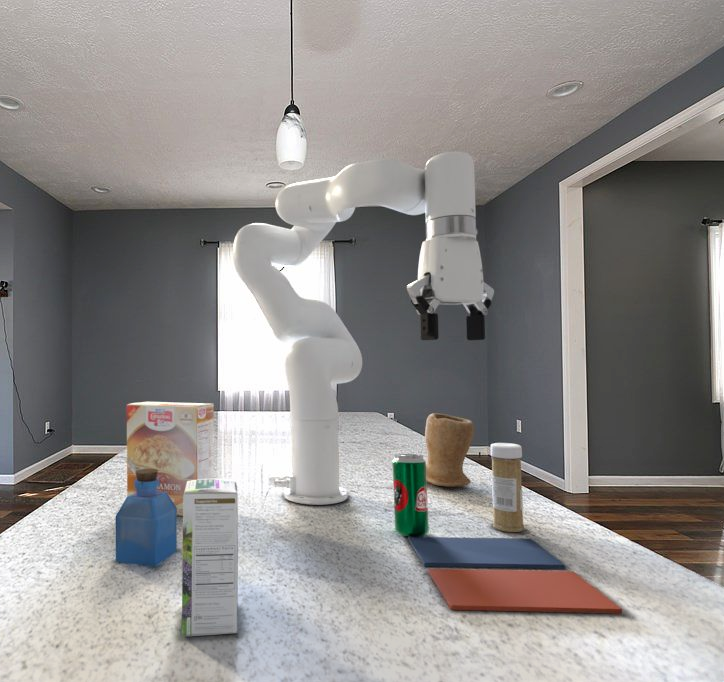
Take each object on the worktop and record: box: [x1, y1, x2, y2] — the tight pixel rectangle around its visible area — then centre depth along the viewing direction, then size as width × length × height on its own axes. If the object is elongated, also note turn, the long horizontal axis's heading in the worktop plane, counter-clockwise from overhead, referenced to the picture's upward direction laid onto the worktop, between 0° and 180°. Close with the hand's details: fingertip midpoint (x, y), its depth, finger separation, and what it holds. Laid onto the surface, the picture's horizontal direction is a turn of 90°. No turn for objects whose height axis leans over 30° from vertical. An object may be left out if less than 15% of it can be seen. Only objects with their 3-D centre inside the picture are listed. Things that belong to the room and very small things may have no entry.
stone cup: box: [424, 412, 475, 487], centre depth 116 cm, size 15×12×15 cm
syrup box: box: [181, 478, 239, 637], centre depth 56 cm, size 6×6×14 cm
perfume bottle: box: [115, 468, 178, 568], centre depth 75 cm, size 6×6×12 cm
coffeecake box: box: [126, 401, 215, 517], centre depth 98 cm, size 15×7×20 cm, turn 68°
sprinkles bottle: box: [490, 442, 525, 533], centre depth 85 cm, size 5×5×13 cm
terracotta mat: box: [427, 568, 623, 615], centre depth 62 cm, size 18×10×1 cm, turn 86°
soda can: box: [391, 453, 430, 537], centre depth 83 cm, size 5×5×12 cm
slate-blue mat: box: [407, 536, 566, 569], centre depth 74 cm, size 18×10×1 cm, turn 86°
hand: (453, 339), depth 84 cm, fingers open, 9 cm apart
